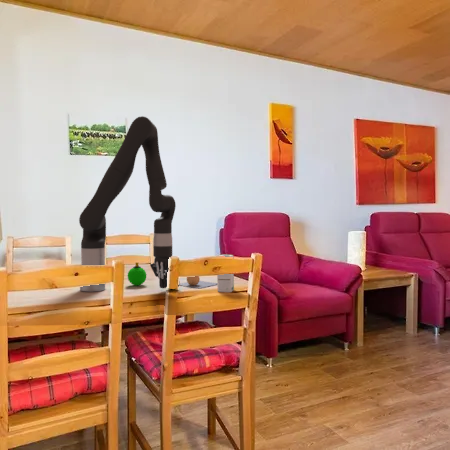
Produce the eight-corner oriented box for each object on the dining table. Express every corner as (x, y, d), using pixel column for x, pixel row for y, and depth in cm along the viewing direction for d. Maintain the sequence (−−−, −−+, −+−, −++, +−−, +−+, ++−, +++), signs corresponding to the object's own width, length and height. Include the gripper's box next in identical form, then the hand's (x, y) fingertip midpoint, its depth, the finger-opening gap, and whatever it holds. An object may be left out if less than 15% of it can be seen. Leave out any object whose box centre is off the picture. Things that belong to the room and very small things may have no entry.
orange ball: (194, 267, 182) (199, 276, 186) (183, 274, 182) (188, 283, 185) (197, 275, 178) (203, 283, 181) (186, 281, 178) (192, 290, 181)
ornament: (149, 286, 181) (149, 262, 180) (131, 287, 176) (131, 264, 176) (142, 283, 187) (142, 261, 187) (125, 285, 183) (124, 262, 183)
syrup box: (231, 292, 166) (231, 255, 165) (217, 291, 167) (216, 255, 167) (234, 289, 171) (234, 254, 171) (220, 289, 173) (220, 254, 172)
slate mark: (199, 288, 174) (199, 288, 174) (175, 285, 183) (175, 284, 183) (220, 284, 185) (220, 283, 185) (196, 280, 194) (196, 280, 194)
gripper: (181, 244, 166) (181, 288, 166) (158, 243, 174) (158, 284, 175) (167, 246, 160) (167, 291, 161) (144, 244, 168) (144, 287, 169)
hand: (163, 287), depth 168 cm, fingers closed
